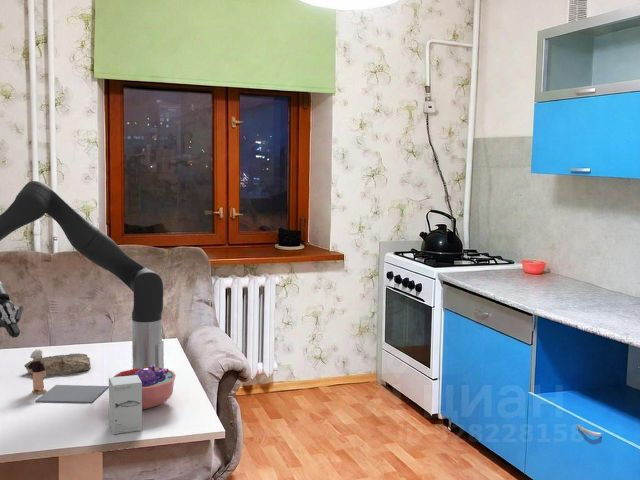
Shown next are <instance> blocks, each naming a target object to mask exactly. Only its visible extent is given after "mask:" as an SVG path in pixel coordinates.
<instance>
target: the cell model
mask: <svg viewBox="0 0 640 480" xmlns="http://www.w3.org/2000/svg"><path fill="white" fill-rule="evenodd" d="M132 375H138V376H139V378H140V380H141V382H142V410H147V409H150V408H154V407H158V406H161V404H164V403H166V402H167V401H168V400H169V399H170V398H171V397H172V395H173V393H174V386H175V385H174V384H175V379H176V373H175V372H174V371H173V370H170V369H169V368H165V367H164V368H161V367H155V365H152V366H146V367H141V368H135V369H133V368H132V369H128V370H123V371H120V372H118V373H116V374H115V375H114V376H113V377H121V376H132Z"/></svg>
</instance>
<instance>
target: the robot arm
mask: <svg viewBox="0 0 640 480" xmlns="http://www.w3.org/2000/svg"><path fill="white" fill-rule="evenodd" d="M45 215H48V216H49V217H50V218H52V219H53V220H54V221H55V222H56V223H57V224H58V226H59V227H60V229H61V230H62V231H63V233H64V235H65V237H66V239H67V240H68V242H69V244H70V245H71V246H72V248H73V249H74V250H76V251H77V252H78V253H79V254H81V255H82V256H83V257H85V258H86V259H87V260H88V261H90V262H92V263H94V264H96V265H97V266H98V267H100V268H102V269H104V270H106V271H108V272H109V273H112V274H113V275H114V276H116V277H117V278H118V279H119V280H120V281H121V282H123V284H125V285H126V286H127V287H128V288H129V289H130V291H132V293H133V307H132V308H133V309H132V311H131V328H132V329H131V341H132V342H131V345H132V347H131V350H132V369H135V368H141V367H146V366H152V365H155V367H161V368H165V367H164V366H165V359H164V357H165V354H164V353H165V352H164V350H165V349H164V345H165V344H164V340H162V339H163V337H162V334H163V333H162V332H163V331H162V325H163V324H162V323H163V322H162V321H163V320H162V317H163V316H162V314H163V310H164V284H163V279H162V277H161V276H160V275H159V274H158V273H157V272H155V271H153V270H152V269H150V268H148V267H146V266H144V265H142V264H141V263H139V262H137V261H136V260H135V259H134V258H132V257H130V256H129V255H128V254H127V253H126V252H125V251H124V250H123V249H122V248H121V247H120V246H119V245H118V244H117V243H116V242H115V241H114V240H113V239H112V238H111V237H110V236H109V235H107V234H106V233H105V232H104V231H102V230H101V229H99V228H98V227H96V226H95V225H94V224H93V223H91V222H90V221H89V220H88V219H86V218H85V217H84V216H83V215H81V214H80V213H79V212H77V211H76V210H75V209H74V208H72V207H71V205H69V204H68V202H66V201H65V200H64V199H63V198H62V197H61V196H60V195H58V194H57V192H56V191H54V190H53V189H52V188H51V187H50V186H49V185H47V184H46V183H44V182H42V181H39V180H37V181H36V180H33V181H32V180H31V181H29V182H27V183H26V184H25V185H24V186H23V187H22V188H21V190H20V191H19V192H18V193H17V195H16V197H15V198H14V201H13V202H12V203H11V204H10V205H9V206H8V207H7V209H6V210H4V212H3V213H1V214H0V242H1V241H2V240H4V239H5V238H6V237H8V236H9V235H10V234H11V233H14V232H15V231H16V230H18V229H20V228H22V227H24V226H26V225H28V224H31V223H33V222H35V221H38V220H39V219H41V218H42V217H44V216H45ZM23 310H24V307H23V305H19V306H17V305H15V304H14V302H13V301H11V299H10V295H9V293H8V292H7V290H6V288H5V285H4V284H3V283H2V281H1V280H0V329H1V328H3V329H5V330H6V331H7V334H8V335H9V337H11V338H12V339H14V338H19V335H20V333H21V330H20V328H19V327H18V324H19V322H20V320H21V318H22V315H23Z"/></svg>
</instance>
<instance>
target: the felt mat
mask: <svg viewBox="0 0 640 480" xmlns="http://www.w3.org/2000/svg"><path fill="white" fill-rule="evenodd" d="M107 390H109V385H81V384H80V385H79V384H78V385H77V384H74V385H73V384H70V385H69V384H56V385H53V387H52V388H50V389H48V390H46V391H47V392H46V393H44V394H41V396H39V397H38V398H37V399H36V400H35V403H62V404H64V403H69V404H70V403H73V404H93V403H94V402H95V401H96V400H97V399H98V398H100V396H102V395H103V394H104V393H105V392H106V391H107Z"/></svg>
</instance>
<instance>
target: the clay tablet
mask: <svg viewBox="0 0 640 480" xmlns="http://www.w3.org/2000/svg"><path fill="white" fill-rule="evenodd" d="M90 358H91V357H88V354H85V353H69V354H58V355H52V356H44V357H42V360H41V361H40V362H42V363H43V365H44V368H45V372H46V377H54V376H55V377H56V376H57V375H58V376H63V375H70V374H71V373H73V374H74V373H77V372H86V371H87V370H90V369H91V361H90ZM32 362H34V360H33V359H32V360H30V361H28V362H27V363H26V364H24V365H23V366H24V368H25V369H26V370H27V371H28V366H29V365H30V364H31V363H32ZM30 374H31V375H32V376H33V372H32V370H31V372H30Z"/></svg>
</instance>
